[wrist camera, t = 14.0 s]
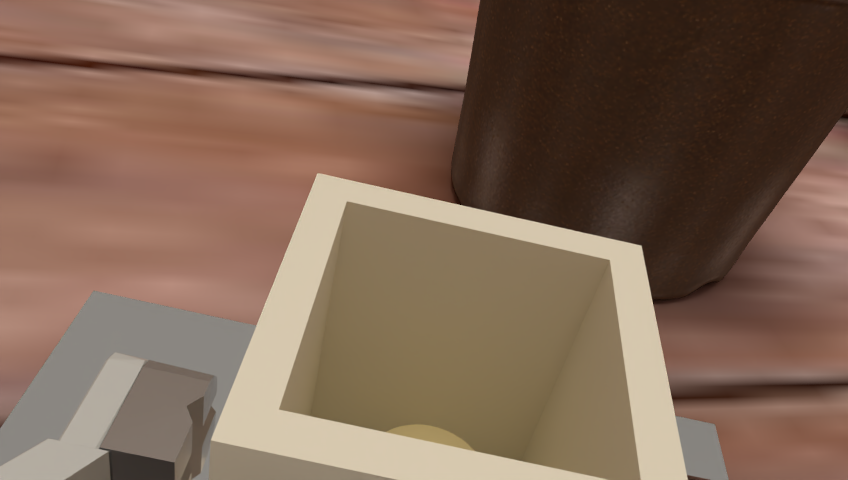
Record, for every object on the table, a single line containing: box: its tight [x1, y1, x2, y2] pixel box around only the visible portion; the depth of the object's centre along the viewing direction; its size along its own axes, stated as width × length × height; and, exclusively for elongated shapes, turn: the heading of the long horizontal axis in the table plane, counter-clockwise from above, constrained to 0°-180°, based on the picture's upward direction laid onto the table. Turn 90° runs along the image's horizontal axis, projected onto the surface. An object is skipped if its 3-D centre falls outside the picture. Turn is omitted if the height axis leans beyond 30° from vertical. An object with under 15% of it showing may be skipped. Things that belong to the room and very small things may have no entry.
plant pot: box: [451, 0, 848, 299], centre depth 28 cm, size 16×16×16 cm
